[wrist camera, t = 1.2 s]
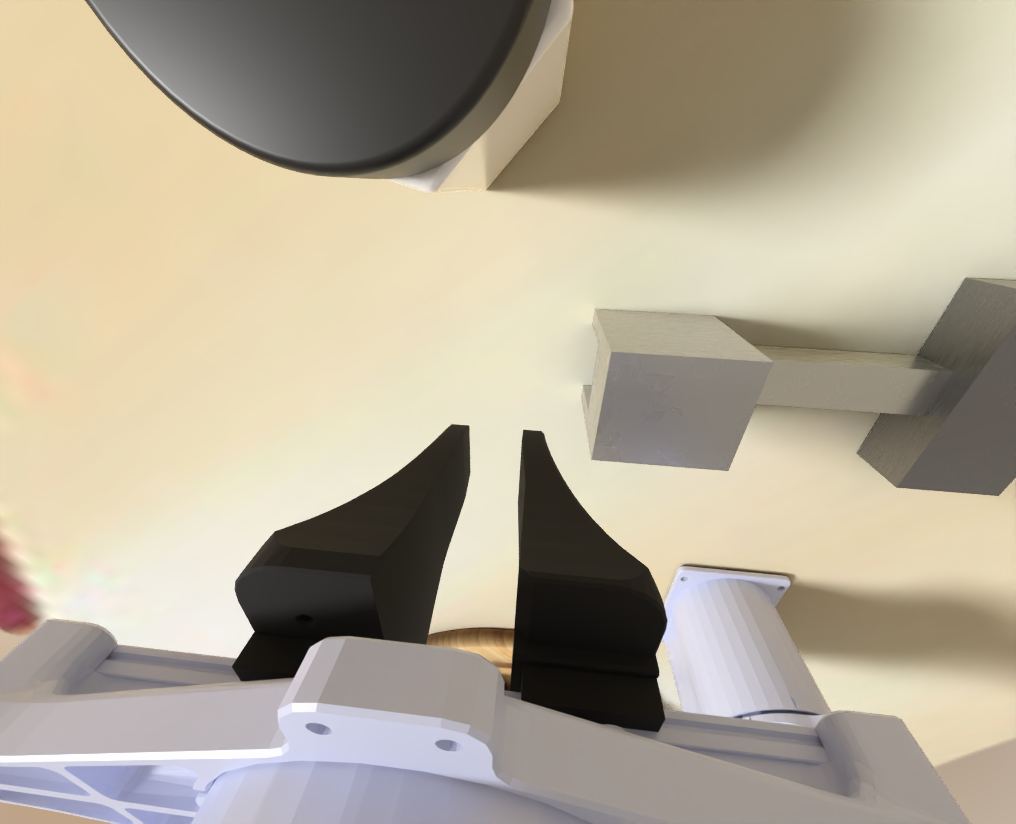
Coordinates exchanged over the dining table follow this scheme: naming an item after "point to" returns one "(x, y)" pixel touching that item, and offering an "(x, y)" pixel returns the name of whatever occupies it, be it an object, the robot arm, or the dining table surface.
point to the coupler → (924, 395)
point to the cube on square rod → (670, 389)
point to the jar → (357, 79)
